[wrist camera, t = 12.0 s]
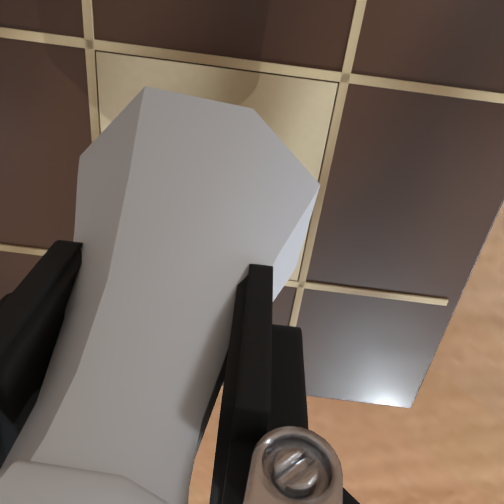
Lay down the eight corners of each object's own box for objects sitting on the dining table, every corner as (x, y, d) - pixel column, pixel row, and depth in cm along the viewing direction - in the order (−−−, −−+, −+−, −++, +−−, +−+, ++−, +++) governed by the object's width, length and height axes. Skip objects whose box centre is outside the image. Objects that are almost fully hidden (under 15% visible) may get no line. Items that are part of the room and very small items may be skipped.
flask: (49, 244, 15) (-260, 611, 6) (127, 32, 11) (-321, 209, 3) (242, 333, 16) (204, 721, 8) (363, 170, 13) (527, 548, 4)
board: (630, -155, 13) (672, -170, 11) (404, 385, 24) (411, 410, 23) (-157, -266, 12) (-210, -296, 11) (-8, 336, 24) (-26, 357, 22)
